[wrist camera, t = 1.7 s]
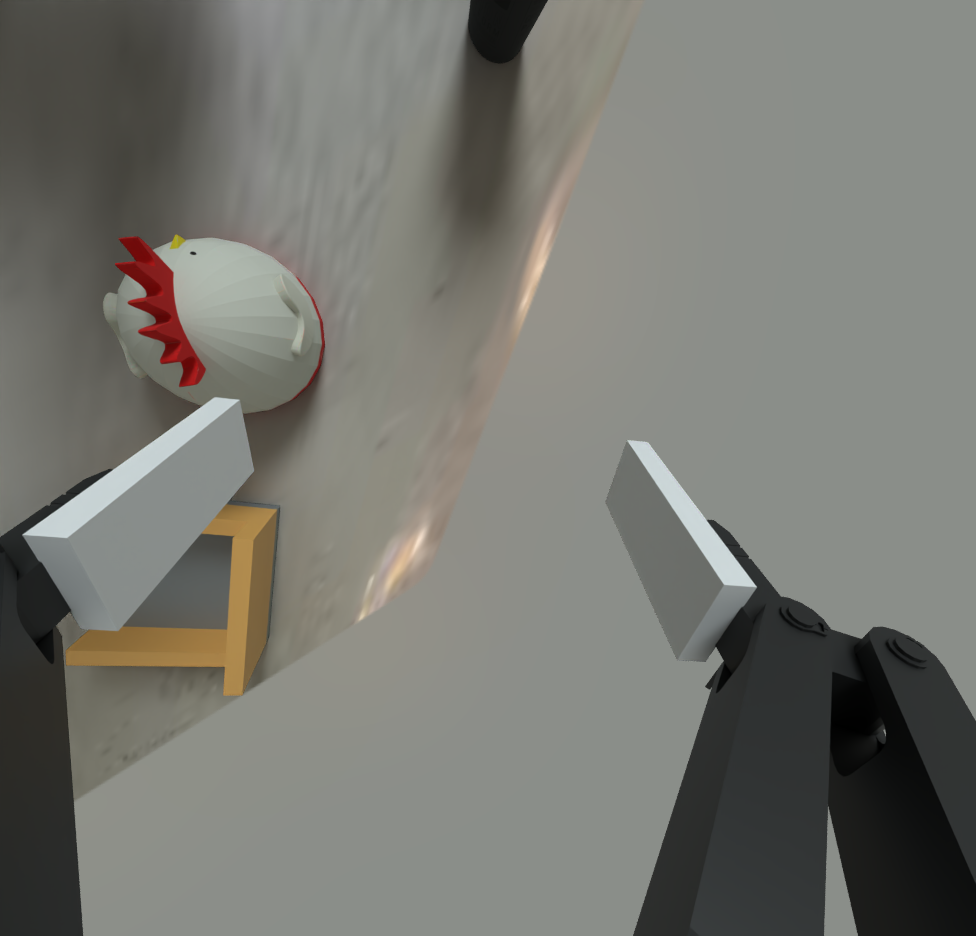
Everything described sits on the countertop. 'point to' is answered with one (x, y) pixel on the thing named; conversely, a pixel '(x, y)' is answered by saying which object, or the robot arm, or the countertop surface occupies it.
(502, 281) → the countertop surface
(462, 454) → the countertop surface
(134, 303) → the kitchen timer
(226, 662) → the chute bracket
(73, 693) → the countertop surface
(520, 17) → the drinking cup
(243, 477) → the robot arm
